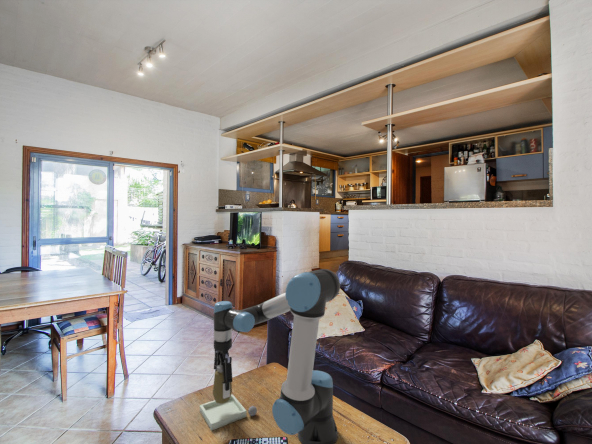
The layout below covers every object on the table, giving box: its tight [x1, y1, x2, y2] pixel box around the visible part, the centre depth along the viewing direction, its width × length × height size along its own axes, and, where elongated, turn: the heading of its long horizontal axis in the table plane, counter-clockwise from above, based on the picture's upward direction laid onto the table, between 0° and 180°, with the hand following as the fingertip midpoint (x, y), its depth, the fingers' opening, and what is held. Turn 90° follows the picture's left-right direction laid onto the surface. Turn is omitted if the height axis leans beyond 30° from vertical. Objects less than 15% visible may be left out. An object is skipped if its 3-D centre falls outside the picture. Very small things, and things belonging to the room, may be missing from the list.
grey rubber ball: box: [247, 405, 258, 417], centre depth 126 cm, size 4×4×4 cm
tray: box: [199, 393, 248, 432], centre depth 127 cm, size 15×15×2 cm
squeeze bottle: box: [212, 362, 233, 404], centre depth 128 cm, size 8×8×18 cm
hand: (222, 392), depth 127 cm, fingers closed on squeeze bottle, 8 cm apart
